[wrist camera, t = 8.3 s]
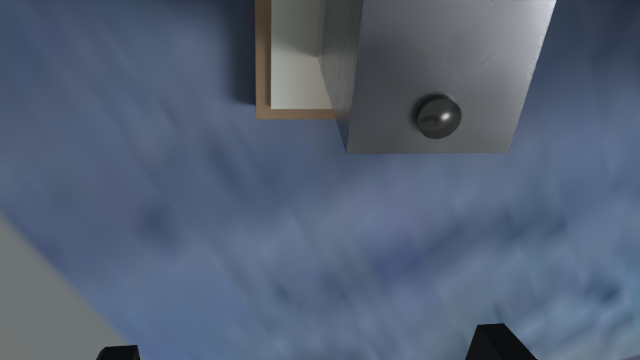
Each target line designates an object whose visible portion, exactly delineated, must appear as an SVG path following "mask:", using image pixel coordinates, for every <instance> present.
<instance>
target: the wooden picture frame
mask: <svg viewBox="0 0 640 360" xmlns="http://www.w3.org/2000/svg"><path fill="white" fill-rule="evenodd" d="M319 14H320V0H255V83H256V119H336V118H335V115H334V112H333V109H332V105H331V102H330V99H329V96H328V92H327V89H326V86H325V83H324V80H323V76H322V73H321V70H320V67H319V63H318V60H317V45H318V29H319Z"/></svg>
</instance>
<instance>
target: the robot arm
mask: <svg viewBox="0 0 640 360" xmlns="http://www.w3.org/2000/svg"><path fill="white" fill-rule="evenodd" d="M96 360H140V356H139V351H138V347H137V345H130V346H113V347H105V348H104V349H103V350H101V351H100V353H99V356H98V357H97V359H96ZM465 360H537V359H536V358H535V357H534V356H533V355H532V354H531V352H530V351H529V350H528V349H527V348H526V347H525V346H524V345H523V344H522V343H521V342H520V340H519V339H518V338H517V337H516V336H515V335H514V334H513V333H512V332H511V331H510V330H509V329H508V327H507V326H506V325H505V324H504V323H502V324H485V325H477V328H476V331H475V333H474V336H473V339H472V342H471V345H470V348H469V351H468V353H467V356H466V359H465Z"/></svg>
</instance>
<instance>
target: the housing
mask: <svg viewBox="0 0 640 360" xmlns="http://www.w3.org/2000/svg"><path fill="white" fill-rule="evenodd" d="M555 3H556V0H320V14H319V29H318V45H317V60H318V63H319V67H320V70H321V73H322V76H323V80H324V83H325V86H326V89H327V92H328V96H329V99H330V102H331V105H332V109H333V112H334V115H335V118H336V122H337V125H338V128H339V131H340V135H341V138H342V141H343V144H344V147H345V151H346V154H390V153H508V151H509V148H510V145H511V142H512V139H513V136H514V132H515V129H516V126H517V123H518V120H519V117H520V113H521V110H522V107H523V104H524V101H525V98H526V95H527V91H528V88H529V85H530V82H531V79H532V76H533V72H534V69H535V66H536V63H537V60H538V57H539V54H540V50H541V47H542V44H543V41H544V38H545V35H546V31H547V28H548V25H549V22H550V19H551V16H552V13H553V9H554V6H555Z"/></svg>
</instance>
